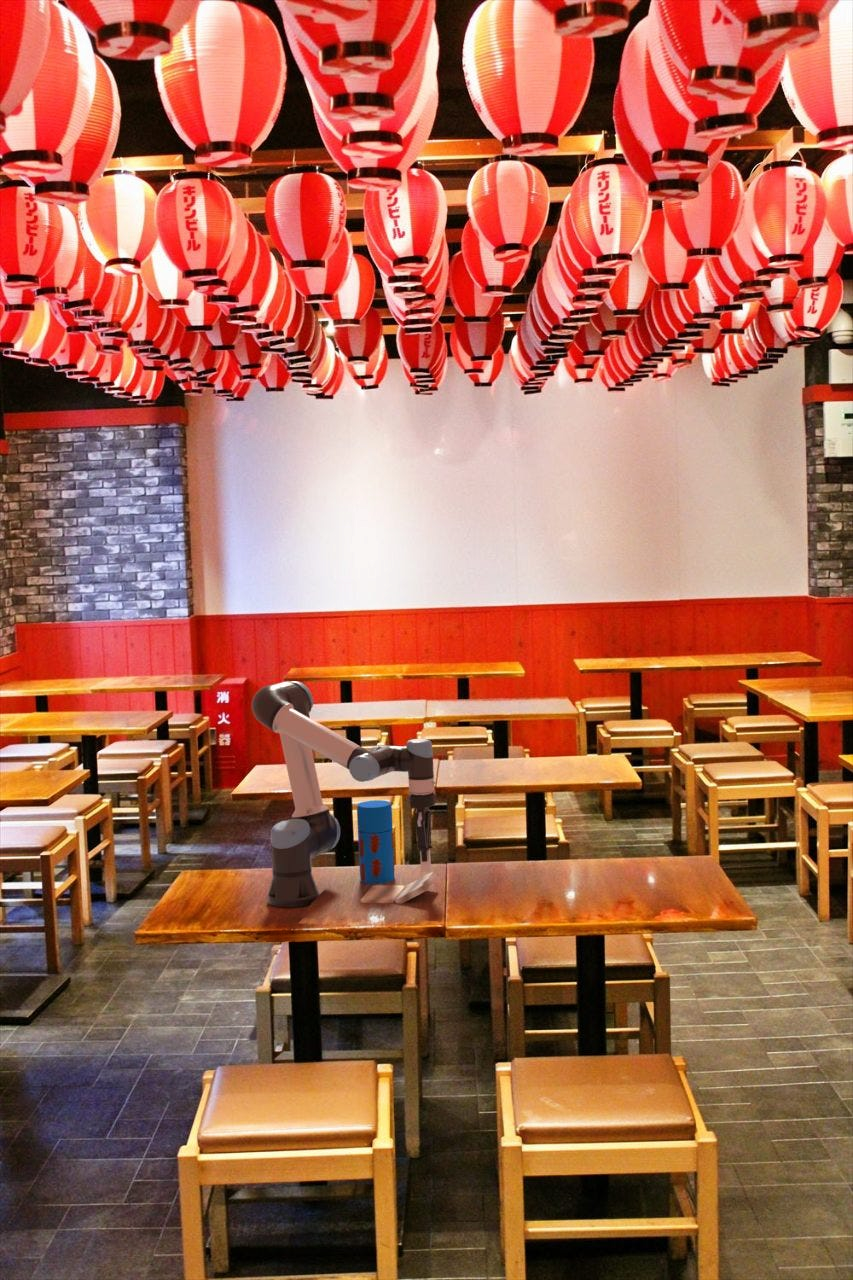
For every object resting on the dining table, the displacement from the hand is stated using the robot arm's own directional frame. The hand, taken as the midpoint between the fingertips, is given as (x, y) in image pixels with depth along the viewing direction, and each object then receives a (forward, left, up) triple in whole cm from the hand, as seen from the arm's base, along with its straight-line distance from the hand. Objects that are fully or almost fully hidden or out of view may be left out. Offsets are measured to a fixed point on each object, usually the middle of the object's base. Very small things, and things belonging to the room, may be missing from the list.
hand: (426, 871), depth 350 cm
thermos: (-19, +17, -9) cm, 27 cm away
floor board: (-8, 0, -9) cm, 12 cm away
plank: (-3, 0, -6) cm, 6 cm away
